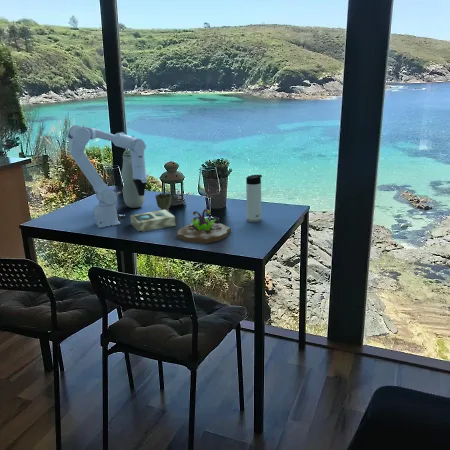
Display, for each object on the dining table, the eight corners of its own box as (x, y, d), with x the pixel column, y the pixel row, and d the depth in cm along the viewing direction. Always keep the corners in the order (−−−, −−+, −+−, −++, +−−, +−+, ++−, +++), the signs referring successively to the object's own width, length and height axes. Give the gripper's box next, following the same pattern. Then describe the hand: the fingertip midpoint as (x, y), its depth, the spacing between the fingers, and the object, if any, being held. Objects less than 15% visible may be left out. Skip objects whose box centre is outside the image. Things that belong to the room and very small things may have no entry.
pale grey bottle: (121, 209, 231) (114, 151, 222) (131, 203, 240) (125, 147, 231) (140, 211, 228) (134, 152, 219) (149, 204, 237) (144, 148, 228)
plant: (210, 247, 182) (209, 219, 178) (169, 239, 192) (167, 212, 188) (237, 231, 198) (237, 205, 194) (198, 224, 208) (197, 199, 204)
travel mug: (261, 222, 206) (260, 177, 199) (245, 222, 207) (244, 176, 201) (263, 218, 212) (262, 173, 205) (248, 217, 213) (247, 173, 206)
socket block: (139, 232, 200) (138, 222, 198) (131, 224, 210) (130, 214, 209) (175, 225, 206) (174, 216, 205) (165, 217, 217) (165, 209, 215)
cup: (174, 208, 229) (172, 192, 227) (170, 213, 223) (169, 196, 220) (158, 209, 230) (157, 192, 228) (155, 213, 223) (153, 197, 221)
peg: (142, 227, 204) (141, 218, 203) (139, 224, 208) (138, 216, 206) (151, 225, 206) (150, 217, 205) (148, 223, 209) (147, 214, 208)
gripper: (152, 167, 208) (155, 197, 212) (142, 161, 220) (145, 190, 225) (136, 169, 205) (139, 200, 209) (127, 163, 217) (130, 192, 222)
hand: (141, 195), depth 217 cm, fingers closed
